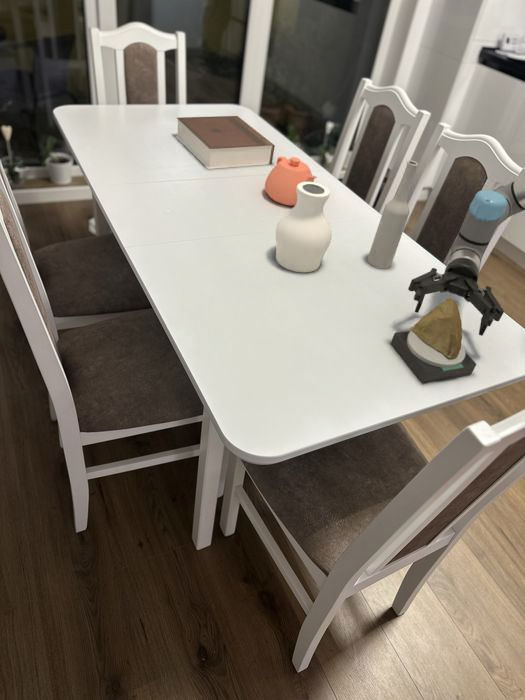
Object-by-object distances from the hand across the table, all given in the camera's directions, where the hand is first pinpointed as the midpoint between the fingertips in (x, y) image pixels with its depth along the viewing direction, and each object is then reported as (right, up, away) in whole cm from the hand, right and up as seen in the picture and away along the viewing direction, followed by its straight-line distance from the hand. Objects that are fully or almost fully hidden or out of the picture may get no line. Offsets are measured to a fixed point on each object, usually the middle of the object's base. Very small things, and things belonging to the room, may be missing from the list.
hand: (450, 318), depth 111 cm
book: (-53, +64, +80) cm, 116 cm away
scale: (-2, -8, +8) cm, 12 cm away
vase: (-29, +17, +31) cm, 46 cm away
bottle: (-7, +18, +37) cm, 41 cm away
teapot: (-30, +41, +58) cm, 77 cm away
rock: (-2, -5, +5) cm, 8 cm away
